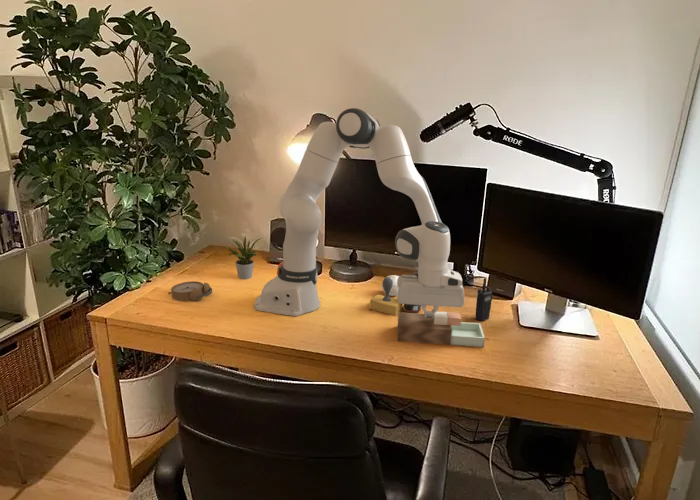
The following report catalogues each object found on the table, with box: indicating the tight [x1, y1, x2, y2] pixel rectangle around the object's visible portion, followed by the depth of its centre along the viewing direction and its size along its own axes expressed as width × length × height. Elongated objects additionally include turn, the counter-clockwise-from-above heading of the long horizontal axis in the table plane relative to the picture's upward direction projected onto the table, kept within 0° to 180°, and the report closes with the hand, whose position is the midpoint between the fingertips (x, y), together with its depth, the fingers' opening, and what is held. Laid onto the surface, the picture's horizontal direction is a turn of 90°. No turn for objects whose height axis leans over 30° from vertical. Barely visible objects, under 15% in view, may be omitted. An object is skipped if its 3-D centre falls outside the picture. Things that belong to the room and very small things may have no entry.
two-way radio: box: [474, 277, 493, 322], centre depth 179 cm, size 6×4×15 cm
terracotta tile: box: [446, 311, 462, 326], centre depth 166 cm, size 4×4×2 cm
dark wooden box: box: [396, 311, 452, 346], centre depth 167 cm, size 16×10×5 cm, turn 85°
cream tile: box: [433, 310, 448, 325], centre depth 166 cm, size 4×4×2 cm
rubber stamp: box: [369, 276, 404, 316], centre depth 184 cm, size 10×6×12 cm, turn 62°
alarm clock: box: [168, 280, 213, 303], centre depth 191 cm, size 11×5×15 cm
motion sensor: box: [381, 274, 400, 297], centre depth 196 cm, size 8×8×8 cm
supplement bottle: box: [403, 304, 422, 314], centre depth 184 cm, size 6×6×11 cm
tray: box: [450, 321, 486, 348], centre depth 167 cm, size 10×10×3 cm
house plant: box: [224, 235, 263, 280], centre depth 209 cm, size 14×14×16 cm
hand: (428, 317), depth 166 cm, fingers closed
